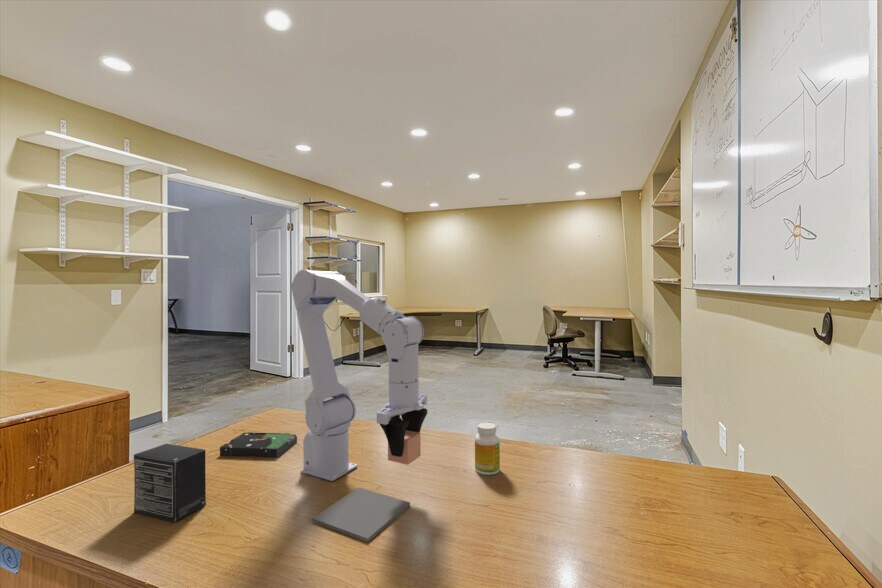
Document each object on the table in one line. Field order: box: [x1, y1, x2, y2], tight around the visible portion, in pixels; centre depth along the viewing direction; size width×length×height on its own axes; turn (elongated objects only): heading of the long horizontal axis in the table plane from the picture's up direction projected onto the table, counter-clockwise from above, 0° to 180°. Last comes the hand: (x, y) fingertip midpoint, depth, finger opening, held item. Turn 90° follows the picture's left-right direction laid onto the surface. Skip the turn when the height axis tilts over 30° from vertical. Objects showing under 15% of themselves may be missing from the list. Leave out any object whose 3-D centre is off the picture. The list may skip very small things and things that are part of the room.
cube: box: [387, 430, 422, 465], centre depth 77 cm, size 4×4×4 cm
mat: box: [311, 487, 411, 543], centre depth 70 cm, size 12×12×1 cm
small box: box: [133, 443, 207, 523], centre depth 72 cm, size 11×6×10 cm, turn 71°
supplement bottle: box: [474, 422, 501, 476], centre depth 87 cm, size 5×5×10 cm
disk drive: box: [219, 431, 298, 459], centre depth 100 cm, size 10×3×15 cm
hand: (404, 450), depth 77 cm, fingers closed on cube, 4 cm apart
